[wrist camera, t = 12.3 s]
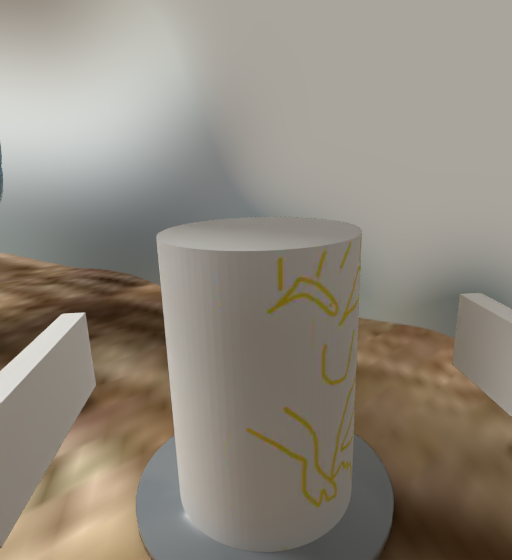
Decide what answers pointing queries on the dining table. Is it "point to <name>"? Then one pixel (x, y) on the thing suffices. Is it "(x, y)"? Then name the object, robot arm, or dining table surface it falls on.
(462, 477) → the dining table surface
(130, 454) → the dining table surface
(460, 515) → the dining table surface
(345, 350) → the cup
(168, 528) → the metal disc
